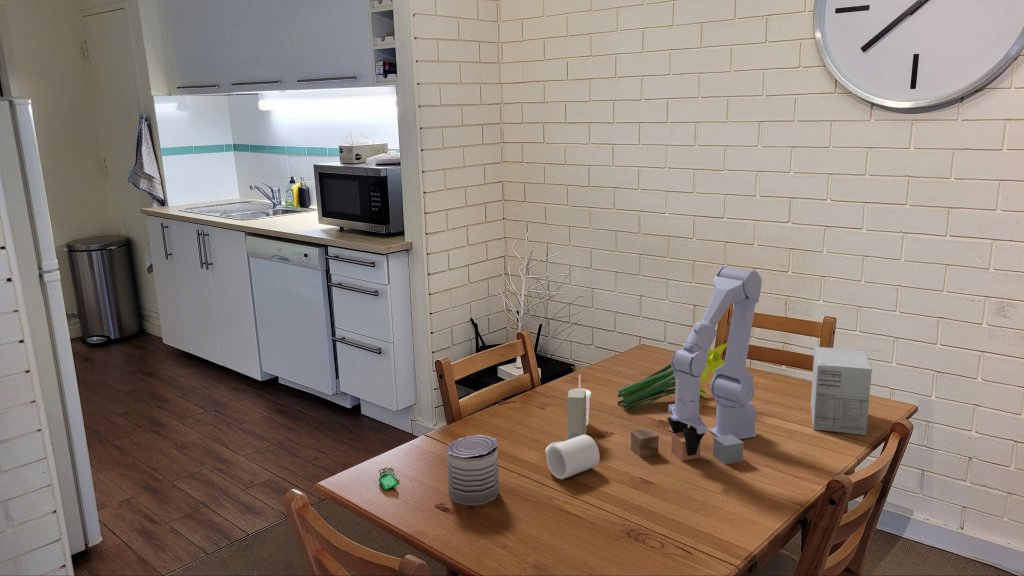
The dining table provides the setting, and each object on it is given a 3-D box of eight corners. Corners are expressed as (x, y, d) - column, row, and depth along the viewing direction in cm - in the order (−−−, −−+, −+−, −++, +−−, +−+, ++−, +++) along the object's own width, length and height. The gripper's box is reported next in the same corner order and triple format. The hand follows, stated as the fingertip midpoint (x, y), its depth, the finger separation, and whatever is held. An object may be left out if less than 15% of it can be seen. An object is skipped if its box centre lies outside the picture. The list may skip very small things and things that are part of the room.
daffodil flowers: (607, 398, 226) (708, 356, 233) (631, 437, 217) (735, 391, 224) (608, 365, 213) (714, 321, 221) (634, 404, 204) (744, 358, 211)
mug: (599, 472, 178) (600, 440, 176) (567, 484, 172) (567, 452, 170) (566, 454, 187) (566, 424, 185) (535, 466, 181) (534, 435, 180)
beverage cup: (565, 426, 204) (565, 377, 201) (572, 417, 209) (572, 370, 206) (587, 429, 202) (587, 379, 199) (593, 420, 207) (593, 372, 204)
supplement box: (867, 436, 194) (873, 369, 190) (812, 430, 198) (816, 365, 194) (860, 411, 210) (865, 349, 206) (809, 406, 214) (813, 345, 210)
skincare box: (584, 442, 194) (584, 398, 191) (567, 441, 194) (566, 397, 192) (586, 432, 200) (586, 389, 197) (570, 431, 200) (569, 388, 198)
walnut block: (648, 446, 191) (649, 428, 189) (658, 454, 186) (658, 436, 185) (630, 449, 189) (631, 431, 188) (639, 457, 184) (640, 438, 183)
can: (480, 510, 161) (478, 459, 159) (438, 497, 167) (435, 447, 164) (508, 488, 171) (507, 439, 168) (467, 476, 177) (466, 429, 174)
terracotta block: (689, 449, 188) (689, 430, 187) (699, 457, 184) (700, 438, 182) (671, 452, 187) (671, 433, 186) (681, 461, 182) (682, 441, 181)
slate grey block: (730, 453, 186) (731, 434, 185) (742, 461, 181) (743, 442, 180) (713, 456, 185) (713, 437, 183) (724, 465, 180) (725, 445, 179)
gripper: (658, 389, 187) (657, 440, 191) (688, 410, 174) (686, 464, 177) (683, 386, 189) (681, 436, 193) (714, 406, 176) (712, 460, 179)
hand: (685, 449), depth 185 cm, fingers closed on terracotta block, 5 cm apart
